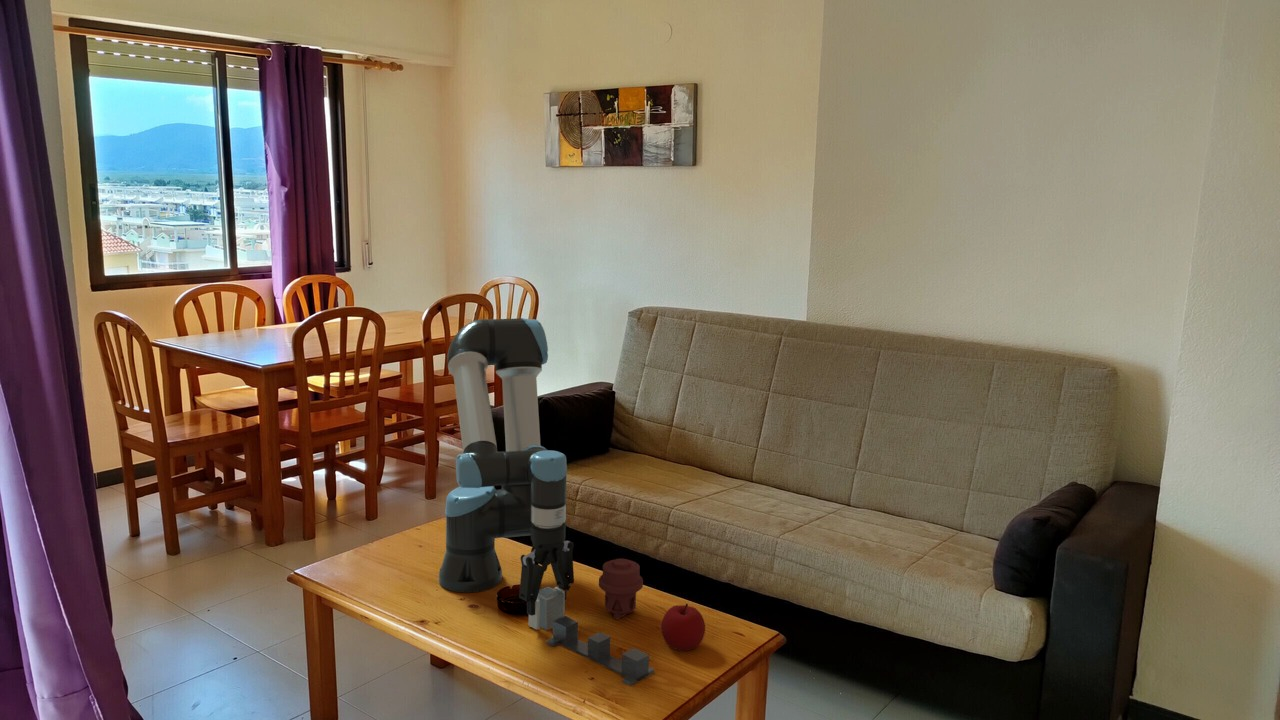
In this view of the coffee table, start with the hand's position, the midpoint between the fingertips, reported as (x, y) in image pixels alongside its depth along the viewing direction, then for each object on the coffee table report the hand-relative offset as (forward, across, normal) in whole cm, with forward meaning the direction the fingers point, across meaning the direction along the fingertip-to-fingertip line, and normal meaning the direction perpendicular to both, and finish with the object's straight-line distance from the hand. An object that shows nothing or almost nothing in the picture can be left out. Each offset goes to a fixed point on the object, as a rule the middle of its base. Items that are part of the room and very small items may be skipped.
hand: (546, 621), depth 200 cm
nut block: (0, 0, 0) cm, 0 cm away
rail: (0, -3, -19) cm, 19 cm away
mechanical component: (0, +15, -8) cm, 17 cm away
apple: (0, +13, -28) cm, 31 cm away
